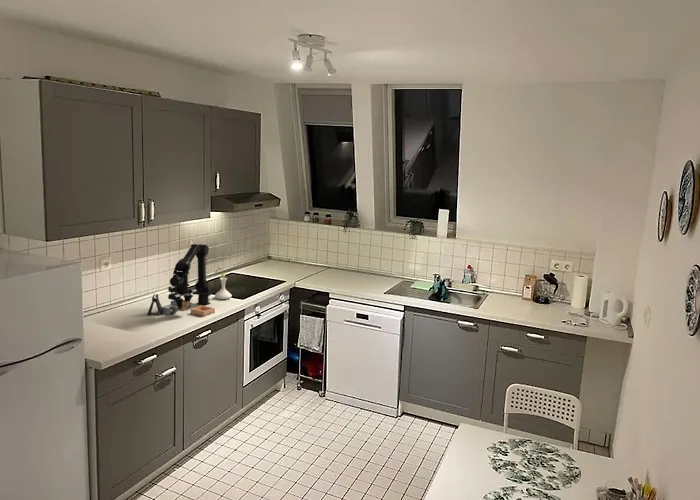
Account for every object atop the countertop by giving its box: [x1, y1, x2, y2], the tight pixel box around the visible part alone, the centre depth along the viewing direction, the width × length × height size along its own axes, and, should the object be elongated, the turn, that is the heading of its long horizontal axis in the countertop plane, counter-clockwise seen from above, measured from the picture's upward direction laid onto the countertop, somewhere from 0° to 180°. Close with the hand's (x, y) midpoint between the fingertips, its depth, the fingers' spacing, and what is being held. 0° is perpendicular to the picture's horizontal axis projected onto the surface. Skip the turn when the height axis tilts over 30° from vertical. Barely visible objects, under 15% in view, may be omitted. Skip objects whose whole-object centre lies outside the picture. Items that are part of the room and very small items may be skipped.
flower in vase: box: [214, 262, 232, 300], centre depth 368 cm, size 13×11×25 cm
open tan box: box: [190, 305, 216, 318], centre depth 335 cm, size 10×10×3 cm
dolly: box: [162, 300, 193, 315], centre depth 338 cm, size 16×9×6 cm, turn 155°
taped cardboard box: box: [177, 299, 190, 312], centre depth 327 cm, size 5×5×6 cm
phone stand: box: [146, 293, 164, 316], centre depth 329 cm, size 9×6×12 cm, turn 101°
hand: (182, 307), depth 328 cm, fingers closed on taped cardboard box, 5 cm apart
